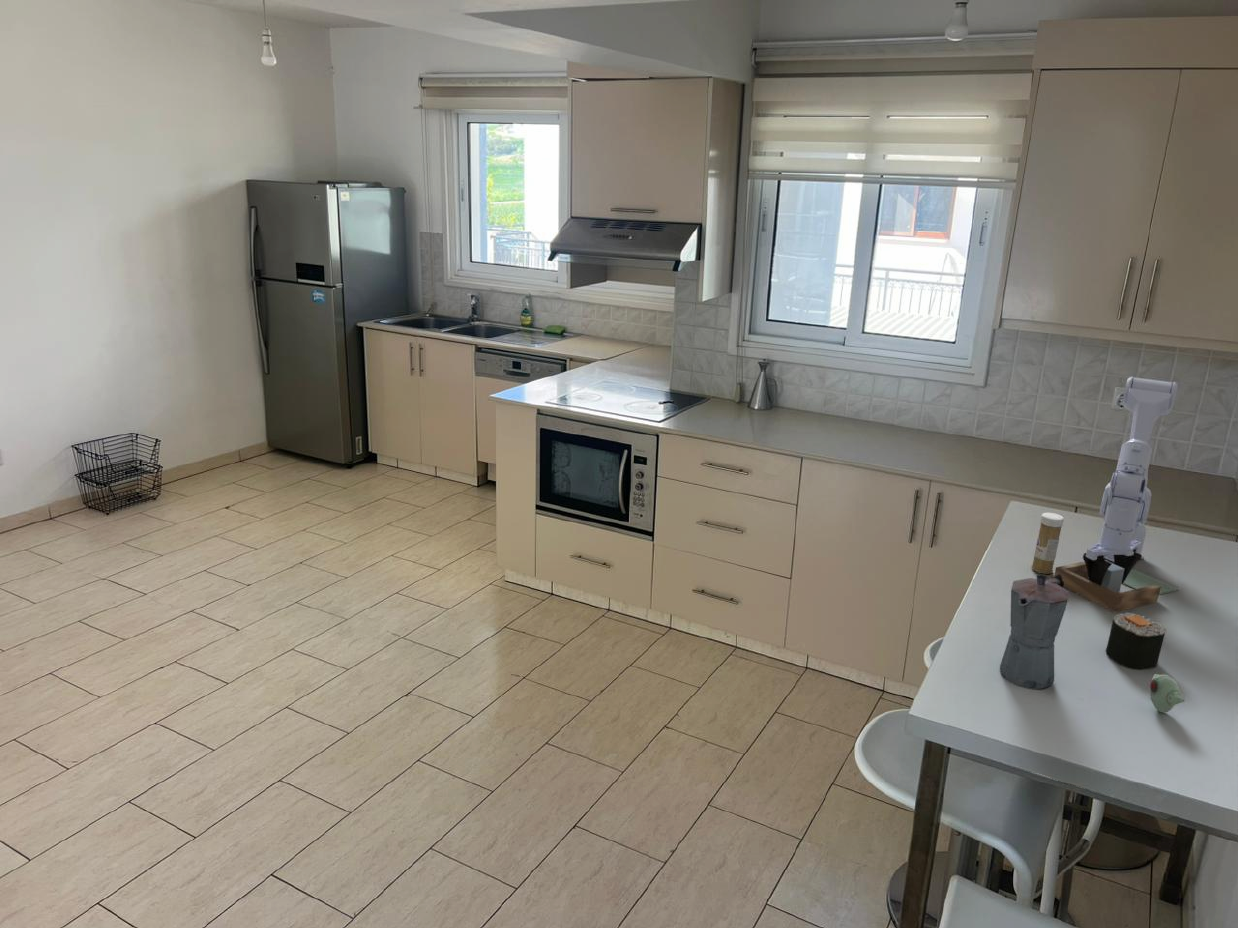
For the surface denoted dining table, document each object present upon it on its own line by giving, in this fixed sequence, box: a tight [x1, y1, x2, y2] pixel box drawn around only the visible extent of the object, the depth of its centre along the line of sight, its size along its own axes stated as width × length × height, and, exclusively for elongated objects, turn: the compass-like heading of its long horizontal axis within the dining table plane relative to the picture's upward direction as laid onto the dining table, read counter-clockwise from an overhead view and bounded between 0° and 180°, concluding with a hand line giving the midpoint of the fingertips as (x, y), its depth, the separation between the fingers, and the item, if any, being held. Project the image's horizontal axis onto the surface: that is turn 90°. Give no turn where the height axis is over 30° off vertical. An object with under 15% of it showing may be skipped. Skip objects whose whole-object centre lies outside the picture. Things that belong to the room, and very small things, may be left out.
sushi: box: [1105, 612, 1167, 670], centre depth 168 cm, size 8×8×8 cm
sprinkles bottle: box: [1031, 512, 1065, 575], centre depth 204 cm, size 5×5×14 cm
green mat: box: [1123, 568, 1179, 595], centre depth 202 cm, size 9×11×1 cm
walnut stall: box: [1053, 560, 1161, 613], centre depth 196 cm, size 13×15×4 cm
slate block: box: [1101, 561, 1124, 593], centre depth 196 cm, size 4×4×6 cm
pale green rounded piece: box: [1149, 673, 1186, 714], centre depth 151 cm, size 8×4×7 cm, turn 175°
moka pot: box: [999, 574, 1070, 690], centre depth 159 cm, size 10×15×20 cm, turn 135°
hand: (1105, 584), depth 196 cm, fingers open, 7 cm apart
